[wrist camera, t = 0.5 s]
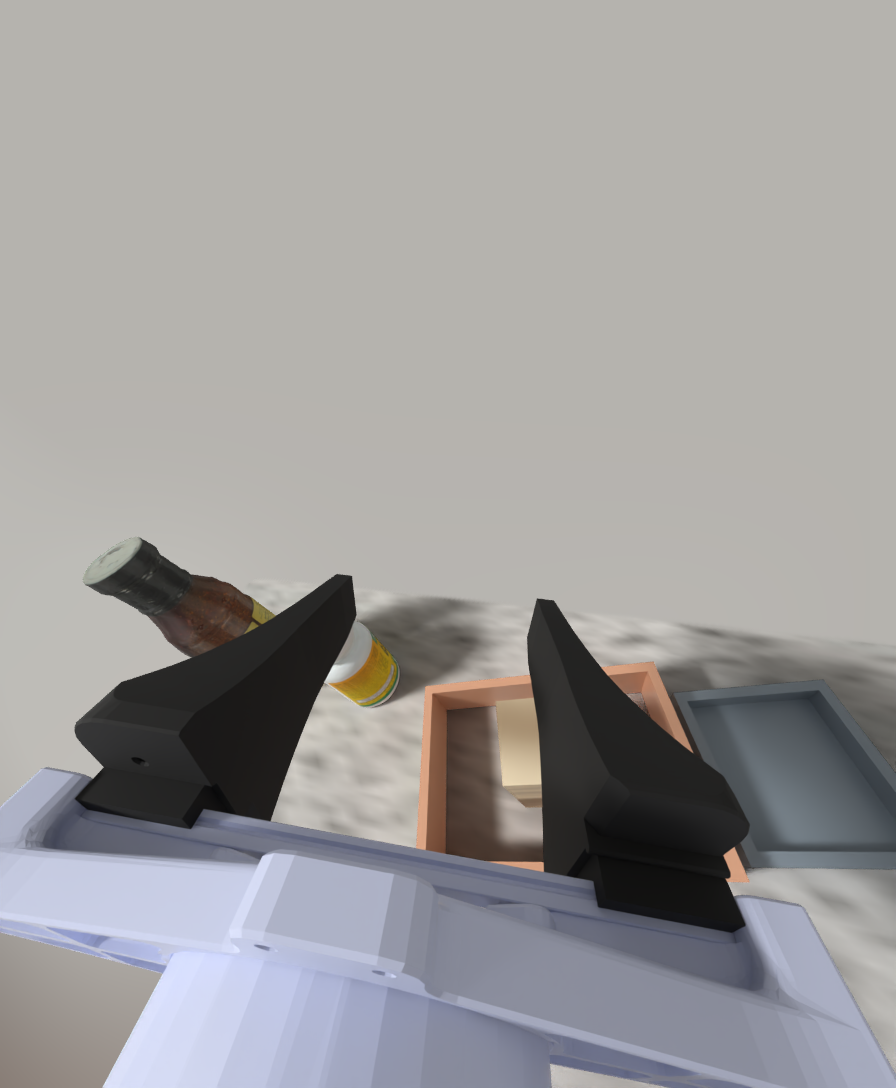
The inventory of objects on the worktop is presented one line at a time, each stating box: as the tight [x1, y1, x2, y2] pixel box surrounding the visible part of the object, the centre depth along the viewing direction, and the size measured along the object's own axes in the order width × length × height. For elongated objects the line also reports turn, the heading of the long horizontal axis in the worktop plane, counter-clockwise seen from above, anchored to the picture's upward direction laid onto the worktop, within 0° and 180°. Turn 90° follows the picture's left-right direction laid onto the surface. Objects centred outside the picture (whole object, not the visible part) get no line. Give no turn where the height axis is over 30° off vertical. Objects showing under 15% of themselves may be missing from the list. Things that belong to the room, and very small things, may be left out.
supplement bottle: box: [324, 621, 400, 708], centre depth 29 cm, size 5×5×10 cm
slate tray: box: [670, 680, 896, 869], centre depth 20 cm, size 9×9×2 cm
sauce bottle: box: [83, 537, 276, 658], centre depth 29 cm, size 7×6×20 cm
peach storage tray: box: [416, 662, 749, 882], centre depth 22 cm, size 11×17×4 cm, turn 89°
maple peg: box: [496, 698, 542, 808], centre depth 21 cm, size 4×4×9 cm
